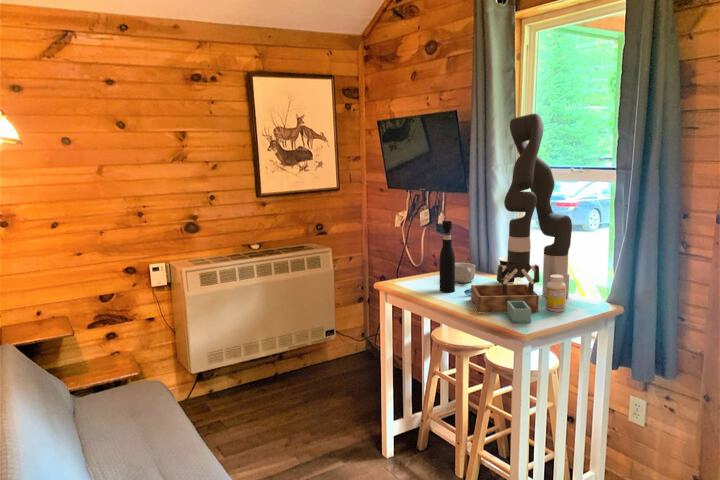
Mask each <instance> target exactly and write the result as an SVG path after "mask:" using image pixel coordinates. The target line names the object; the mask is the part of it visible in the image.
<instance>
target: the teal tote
mask: <svg viewBox="0 0 720 480" xmlns="http://www.w3.org/2000/svg"><path fill="white" fill-rule="evenodd" d="M506 315H507V317H508V318H509V320H510V321H511V322H512V324H531V323H532V312H531V308H530V307H529V306H528V305H527V304H526V303H525V302H524V301H507V312H506Z"/></svg>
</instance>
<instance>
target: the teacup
mask: <svg viewBox="0 0 720 480" xmlns="http://www.w3.org/2000/svg"><path fill="white" fill-rule="evenodd" d="M476 266H477V265H476V264H474V263H468V262H455V283H462V284H463V283H465V284H467V283H468V284H469V283H470V282H471V281H473V280H474V279H475V273H476Z"/></svg>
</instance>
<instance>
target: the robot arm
mask: <svg viewBox="0 0 720 480" xmlns="http://www.w3.org/2000/svg"><path fill="white" fill-rule="evenodd" d="M509 130H510V134H511V138H512V140H513V143H514V145H515V148H516V150H517V153H518V154H519V155H518V158H517V159H516V161H515V163H514V167H513V172H512V177H511V178H512V180H511V184H510V186H509V189H508V191H507V192H506V195H505V197H504V203H503V204H504V208H505V210H507V211H508V212H511V213H524V215H523V216H522V217H517V218H512V219H511V220H509V222H508V223H509V224H508V239H507V257H508V258H507V265H506V266H502V265H500V264H497V272H496V281H497V282H498V283H500V284H501V285H502V292H503V293H504V294H505V295H507V284H506V283H507V282H508V281H509V280H510V279H511V278H512V277H514V278H515V279H517V278H520V279H524V278H525V279H526V280H527V281H528V284H527V285H528V294H529V295H531V294H532V293H533V291H535V290H534V288H535V287H534V285H535V284H537V283H540V266H539V265H538V264H534V265H531V263H530V262H531V258H530V257H531V249H532V247H531V223H532V218H533V215H534V212H535V210H536V214H537V220H538V227H539V229H540V231H541V233H542V234H543V235H545V236H547V237H551V238H554V239H553V243H552V244H548V245H545V246H544V247H543V261H542V263H543V268H542V270H543V271H542V296H543V297H545V298H547V284H548V282H550V281H551V280H550V275H562V276H563V282H564V283H565V284H566V298H569V293H570V292H569V290H570V274H569V271H568V270H569V267H568V266H569V251H570V248H571V243H572V242H571V241H572V230H573V223H572V219H571V217H570V216H568V215H567V214H559V213H554V211H553V209H552V205H551V198H552V195H553V193H554V190H555V179H554V175H553V172H552V169H551V167H550V165H549V164H548V163H547V162H546V161H545V160H544V159H542V158H541V156H539V155H538V154H539V151H540V148H541V143H542V141H543V139H542V138H543V135H544V131H545V129H544V121H543V118H542V116H541V115H540V114H539V113H535V112H534V113H529V114H525V115H521V116H517V117H513V118H512V119H510V121H509ZM529 189H530V191H526V190H529ZM505 269H507V271H508V273H507V274H506V275H505V277H504V278H503V279H502V272H504V270H505ZM531 270H532V272H533V278H532V277H531V276H530V274H529V273H530V271H531Z"/></svg>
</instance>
